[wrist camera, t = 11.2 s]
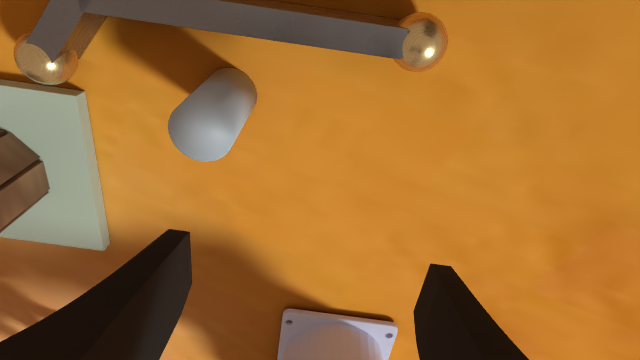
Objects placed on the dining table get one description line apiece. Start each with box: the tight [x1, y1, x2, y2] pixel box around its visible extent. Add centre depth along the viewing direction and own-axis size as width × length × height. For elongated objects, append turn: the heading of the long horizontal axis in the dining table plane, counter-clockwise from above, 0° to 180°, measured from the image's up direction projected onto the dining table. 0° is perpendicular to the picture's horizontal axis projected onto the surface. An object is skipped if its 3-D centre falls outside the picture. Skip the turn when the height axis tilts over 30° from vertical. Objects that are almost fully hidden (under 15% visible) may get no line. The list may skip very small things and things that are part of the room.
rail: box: [14, 0, 448, 85], centre depth 18 cm, size 6×19×3 cm, turn 82°
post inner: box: [168, 68, 257, 162], centre depth 18 cm, size 3×3×5 cm
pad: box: [0, 79, 110, 251], centre depth 22 cm, size 10×10×1 cm
